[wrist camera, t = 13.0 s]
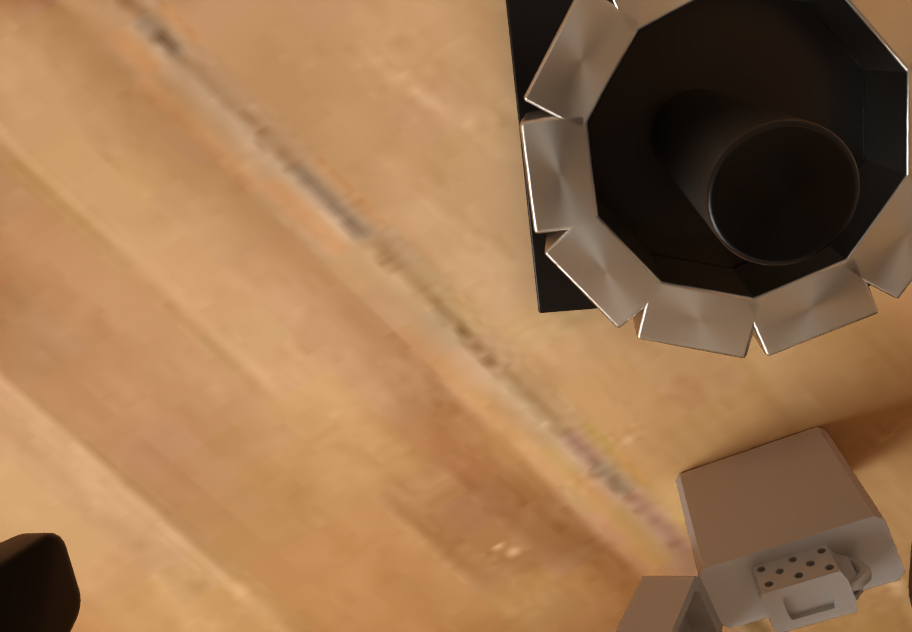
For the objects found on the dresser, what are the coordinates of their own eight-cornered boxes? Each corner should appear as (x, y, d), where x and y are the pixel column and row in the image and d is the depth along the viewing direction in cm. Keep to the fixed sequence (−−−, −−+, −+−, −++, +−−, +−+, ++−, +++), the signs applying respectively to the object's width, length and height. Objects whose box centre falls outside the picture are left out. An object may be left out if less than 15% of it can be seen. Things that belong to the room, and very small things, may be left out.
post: (871, -80, 17) (1156, -198, 9) (863, 274, 20) (1081, 444, 11) (506, -23, 19) (453, -79, 10) (540, 301, 21) (520, 472, 13)
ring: (935, -125, 16) (994, -153, 14) (930, 301, 19) (979, 335, 17) (503, -41, 18) (494, -54, 15) (555, 341, 20) (554, 377, 18)
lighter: (823, 424, 21) (962, 633, 14) (844, 478, 22) (990, 709, 14) (574, 510, 23) (576, 736, 15) (598, 558, 23) (611, 800, 16)
